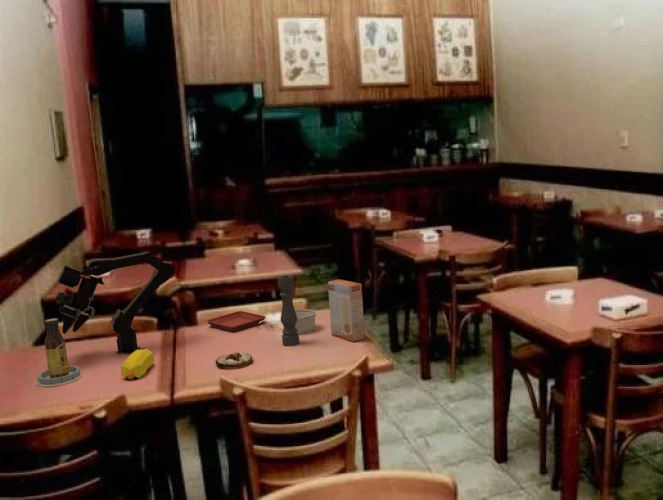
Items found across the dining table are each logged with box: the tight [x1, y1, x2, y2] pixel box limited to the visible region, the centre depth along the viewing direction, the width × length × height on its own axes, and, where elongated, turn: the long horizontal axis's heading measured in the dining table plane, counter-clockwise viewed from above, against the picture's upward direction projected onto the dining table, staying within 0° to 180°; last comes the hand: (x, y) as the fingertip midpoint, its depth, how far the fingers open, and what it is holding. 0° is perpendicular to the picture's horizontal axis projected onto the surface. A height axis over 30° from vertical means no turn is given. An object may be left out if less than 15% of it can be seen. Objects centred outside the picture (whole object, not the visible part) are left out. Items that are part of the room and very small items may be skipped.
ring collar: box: [36, 365, 83, 388], centre depth 215 cm, size 14×14×2 cm
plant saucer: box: [206, 310, 267, 333], centre depth 267 cm, size 18×18×3 cm
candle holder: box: [277, 274, 300, 347], centre depth 234 cm, size 6×6×25 cm
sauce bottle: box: [44, 317, 69, 378], centre depth 214 cm, size 7×6×20 cm
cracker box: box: [327, 279, 366, 343], centre depth 237 cm, size 14×6×21 cm, turn 34°
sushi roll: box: [215, 351, 253, 371], centre depth 218 cm, size 15×15×4 cm
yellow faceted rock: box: [120, 348, 156, 380], centre depth 216 cm, size 18×7×8 cm
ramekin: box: [295, 308, 317, 335], centre depth 252 cm, size 13×13×7 cm
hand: (68, 332), depth 231 cm, fingers open, 9 cm apart
